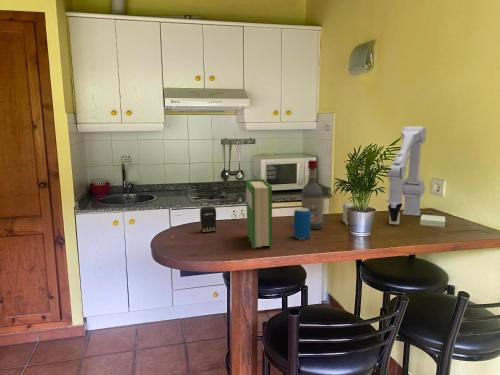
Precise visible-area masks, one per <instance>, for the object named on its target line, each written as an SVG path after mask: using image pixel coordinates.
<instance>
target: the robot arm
mask: <svg viewBox="0 0 500 375" xmlns="http://www.w3.org/2000/svg"><path fill="white" fill-rule="evenodd" d="M426 131H427V130H426V127H425V126H424V125H422V126H405V125H404V126H402V128H401V132H400V134H401V139H402V142H401V146H400V150H399V151H398V152H396V154H395V157H394V159H393V162H392V164H391V165H389V167H388V168H392V169H391V170H388V169H387V176H388V181H389V183H388V184H389V186H388V188H389V189H388V199H385V202H386V203H388V204H389V205H387V209H388V211H389V217H390V216H391V221H394V222H396V221H397V217H398V213H399V212H400V211H401V209H402V206H403V211H402V215H406V216H418V217H419V216H420V217H421V212H422V211H421V210H420V206H421V198H422V196H424V194H425V181H424V180H423V179H422V178H421V177H420V176H419V175H420V162H421V148H422V144H425V142H426V135H427V132H426ZM408 161H409V162H408ZM407 165H408V172H407ZM406 172H407V173H406ZM406 174H408V175H407V177H406ZM405 177H406V178H405ZM403 197H404V201H403ZM403 202H404V205H403Z"/></svg>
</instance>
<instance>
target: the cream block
mask: <svg viewBox="0 0 500 375" xmlns="http://www.w3.org/2000/svg"><path fill="white" fill-rule="evenodd" d="M400 215H401V212H400V211H399V213H398V217H397V221H396V222H394V221H391V216H390V215H389V217H388V220H389V222H388V223H389V224H390V225H399V224H400Z"/></svg>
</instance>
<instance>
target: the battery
mask: <svg viewBox="0 0 500 375" xmlns="http://www.w3.org/2000/svg"><path fill="white" fill-rule="evenodd" d="M199 220H200V231H201V230H204V229H205V230H206V229H207V230H214V229H215V230H216V231H217V208H216V207H215V206H214V205H205V206H201V207H200V209H199Z"/></svg>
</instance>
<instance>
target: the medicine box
mask: <svg viewBox="0 0 500 375" xmlns="http://www.w3.org/2000/svg"><path fill="white" fill-rule="evenodd" d="M352 204H353V203H352V202H350V203H343V204H342V205H343V206H342V221H343V223H344V224H345V225H346V226H349V225H348V222H347V207H350V206H352Z"/></svg>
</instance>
